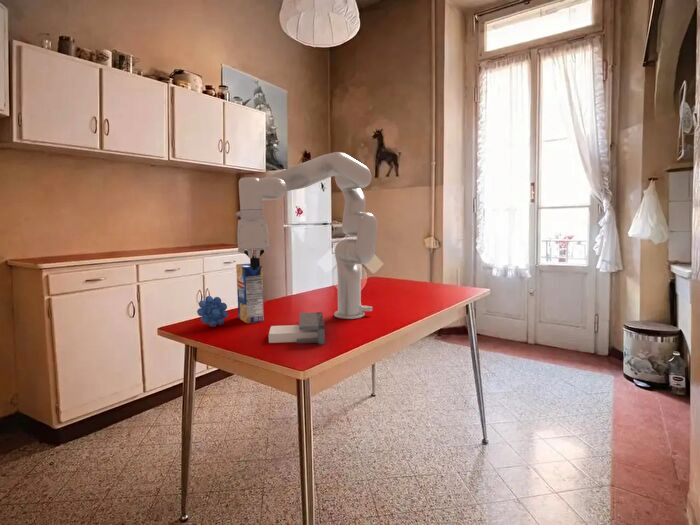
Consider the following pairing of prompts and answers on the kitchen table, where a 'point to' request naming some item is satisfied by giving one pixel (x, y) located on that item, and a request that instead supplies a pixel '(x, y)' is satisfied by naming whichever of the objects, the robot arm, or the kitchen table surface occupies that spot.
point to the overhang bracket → (312, 327)
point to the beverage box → (250, 293)
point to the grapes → (212, 311)
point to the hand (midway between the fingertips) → (255, 269)
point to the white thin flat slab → (289, 334)
